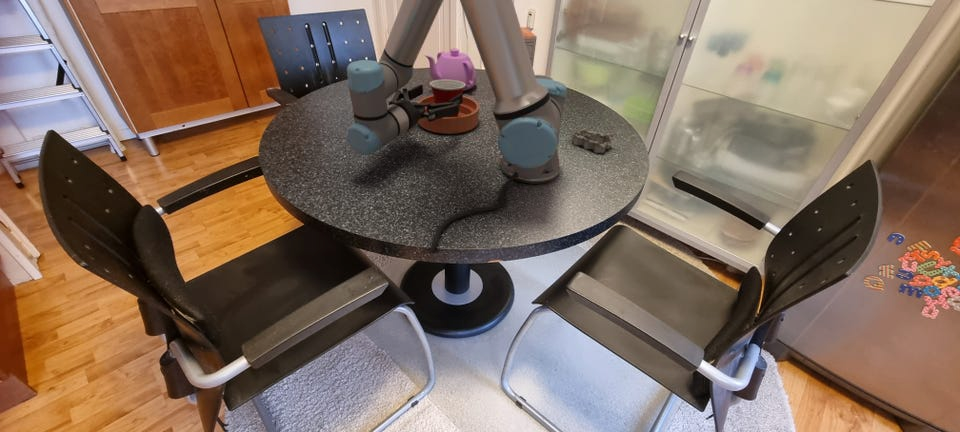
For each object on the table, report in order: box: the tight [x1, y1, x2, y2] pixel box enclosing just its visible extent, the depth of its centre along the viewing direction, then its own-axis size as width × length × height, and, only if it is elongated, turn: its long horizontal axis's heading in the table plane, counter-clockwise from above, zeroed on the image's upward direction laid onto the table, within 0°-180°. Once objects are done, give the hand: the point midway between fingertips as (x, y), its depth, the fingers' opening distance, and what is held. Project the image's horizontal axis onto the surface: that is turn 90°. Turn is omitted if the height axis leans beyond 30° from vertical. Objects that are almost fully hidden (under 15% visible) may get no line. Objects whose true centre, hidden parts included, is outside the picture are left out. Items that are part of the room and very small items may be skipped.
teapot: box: [424, 48, 478, 92], centre depth 140 cm, size 22×22×14 cm
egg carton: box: [571, 128, 615, 154], centre depth 109 cm, size 11×8×4 cm
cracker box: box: [520, 26, 538, 68], centre depth 140 cm, size 14×6×21 cm, turn 10°
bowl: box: [417, 95, 480, 135], centre depth 117 cm, size 19×19×6 cm
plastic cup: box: [429, 79, 465, 117], centre depth 115 cm, size 11×11×12 cm
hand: (441, 93), depth 110 cm, fingers open, 13 cm apart
